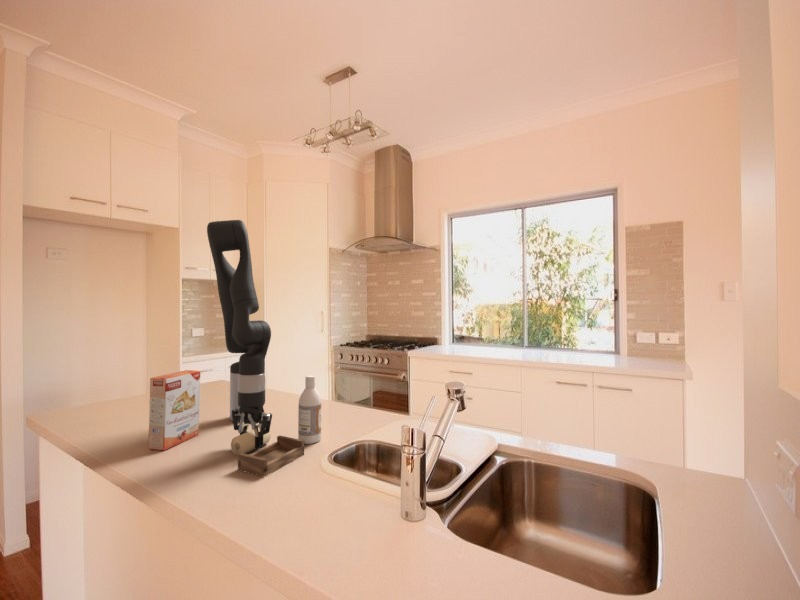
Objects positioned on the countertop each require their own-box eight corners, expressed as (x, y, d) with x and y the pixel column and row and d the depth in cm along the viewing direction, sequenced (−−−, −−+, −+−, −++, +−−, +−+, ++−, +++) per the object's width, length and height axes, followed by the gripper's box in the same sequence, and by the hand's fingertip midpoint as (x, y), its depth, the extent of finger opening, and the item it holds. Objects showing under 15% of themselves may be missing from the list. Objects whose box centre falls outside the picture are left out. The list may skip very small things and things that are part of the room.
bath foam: (318, 444, 113) (319, 378, 113) (295, 444, 113) (296, 378, 113) (322, 436, 120) (323, 374, 120) (301, 436, 120) (301, 374, 120)
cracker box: (165, 451, 107) (166, 378, 107) (147, 449, 108) (148, 377, 108) (200, 434, 120) (201, 370, 121) (184, 433, 122) (185, 369, 122)
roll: (257, 441, 115) (257, 424, 115) (270, 444, 113) (270, 427, 113) (230, 453, 106) (230, 435, 106) (244, 457, 103) (244, 438, 104)
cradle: (279, 449, 109) (279, 435, 109) (304, 454, 105) (304, 440, 105) (237, 469, 96) (237, 454, 96) (264, 477, 92) (264, 460, 92)
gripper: (279, 388, 110) (279, 446, 110) (244, 383, 116) (243, 438, 116) (260, 394, 103) (259, 455, 103) (223, 388, 109) (222, 447, 109)
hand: (251, 446), depth 109 cm, fingers closed on roll, 5 cm apart
